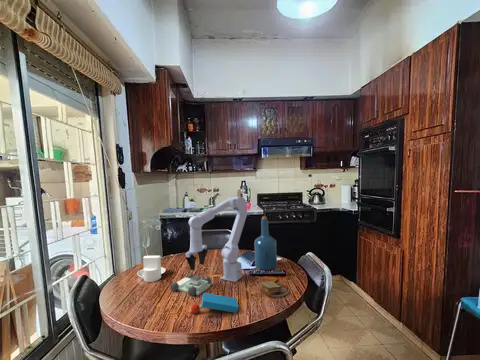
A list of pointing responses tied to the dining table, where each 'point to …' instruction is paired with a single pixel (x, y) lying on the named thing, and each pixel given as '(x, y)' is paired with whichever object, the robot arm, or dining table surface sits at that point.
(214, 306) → the lever
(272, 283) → the toy sandwich meal
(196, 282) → the grey boxy piece
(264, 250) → the wine bottle
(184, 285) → the chassis
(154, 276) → the cylinder with rectangular tab
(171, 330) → the dining table surface
